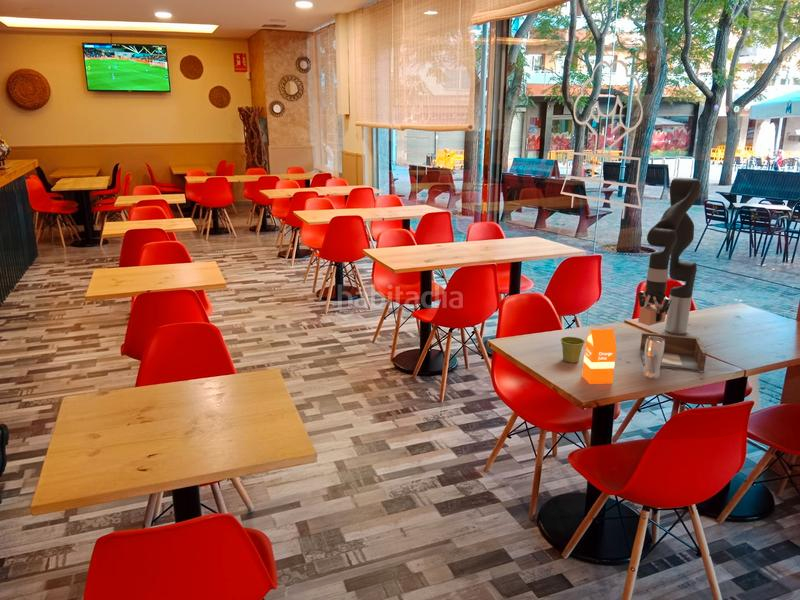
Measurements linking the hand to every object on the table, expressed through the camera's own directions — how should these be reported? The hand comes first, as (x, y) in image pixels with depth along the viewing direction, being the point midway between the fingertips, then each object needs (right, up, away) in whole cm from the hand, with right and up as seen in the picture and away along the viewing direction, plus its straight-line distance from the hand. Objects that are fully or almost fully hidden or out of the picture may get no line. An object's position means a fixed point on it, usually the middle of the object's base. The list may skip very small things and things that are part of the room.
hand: (651, 319), depth 248 cm
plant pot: (-32, -17, +2) cm, 36 cm away
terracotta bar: (0, -1, 0) cm, 1 cm away
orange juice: (-27, -22, -16) cm, 39 cm away
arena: (+9, -17, +3) cm, 19 cm away
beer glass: (-5, -21, -12) cm, 25 cm away
